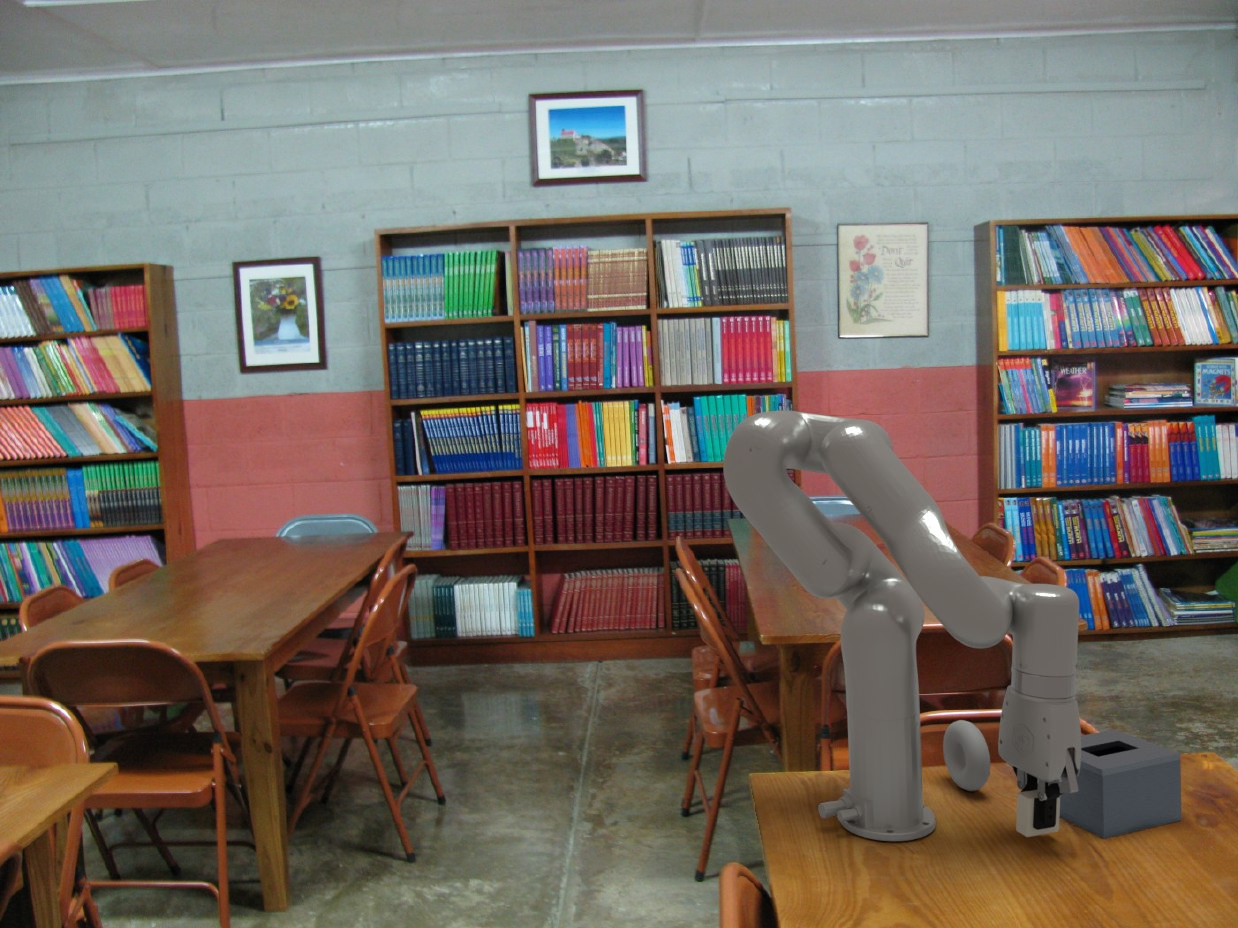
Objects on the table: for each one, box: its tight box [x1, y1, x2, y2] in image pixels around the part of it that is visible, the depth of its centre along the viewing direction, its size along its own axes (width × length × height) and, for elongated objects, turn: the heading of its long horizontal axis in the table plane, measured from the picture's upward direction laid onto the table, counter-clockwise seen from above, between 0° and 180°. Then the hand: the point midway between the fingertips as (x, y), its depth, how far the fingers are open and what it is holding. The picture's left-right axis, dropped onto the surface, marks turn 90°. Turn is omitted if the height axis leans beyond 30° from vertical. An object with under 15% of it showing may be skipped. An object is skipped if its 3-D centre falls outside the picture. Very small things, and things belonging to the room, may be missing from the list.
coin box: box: [1048, 729, 1183, 840], centre depth 136 cm, size 13×11×9 cm
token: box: [1015, 790, 1061, 838], centre depth 129 cm, size 5×2×5 cm, turn 109°
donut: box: [942, 719, 991, 792], centre depth 147 cm, size 10×4×10 cm, turn 10°
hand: (1037, 822), depth 129 cm, fingers closed on token, 1 cm apart
